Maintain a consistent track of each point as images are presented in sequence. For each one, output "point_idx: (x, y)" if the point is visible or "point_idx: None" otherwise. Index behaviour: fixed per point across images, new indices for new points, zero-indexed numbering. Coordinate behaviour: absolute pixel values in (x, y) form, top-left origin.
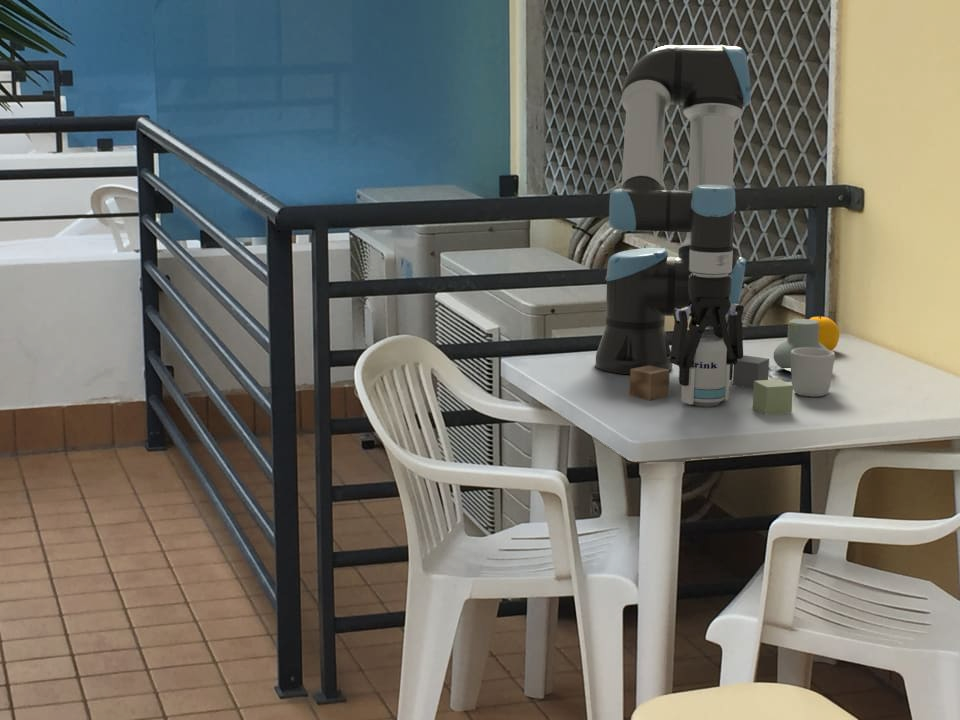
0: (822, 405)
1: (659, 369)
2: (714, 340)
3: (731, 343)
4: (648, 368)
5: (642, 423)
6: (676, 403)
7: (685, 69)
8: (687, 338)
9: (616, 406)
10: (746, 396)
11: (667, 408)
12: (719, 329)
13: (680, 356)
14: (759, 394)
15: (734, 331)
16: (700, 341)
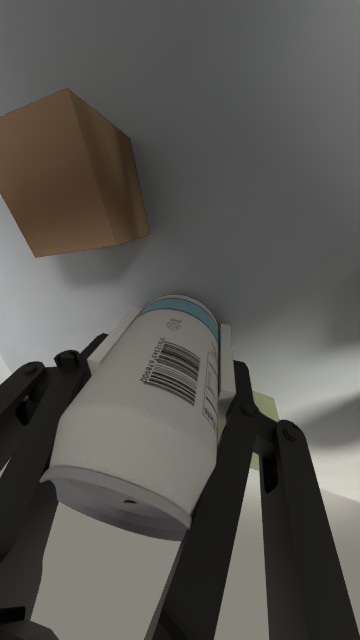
0: (330, 430)
1: (83, 215)
2: (149, 508)
3: (278, 492)
4: (45, 169)
5: (34, 343)
6: (130, 295)
7: None
8: (7, 477)
9: (8, 244)
10: (298, 338)
11: (98, 310)
12: (155, 613)
13: (27, 415)
14: (219, 421)
15: (277, 611)
16: (64, 496)
